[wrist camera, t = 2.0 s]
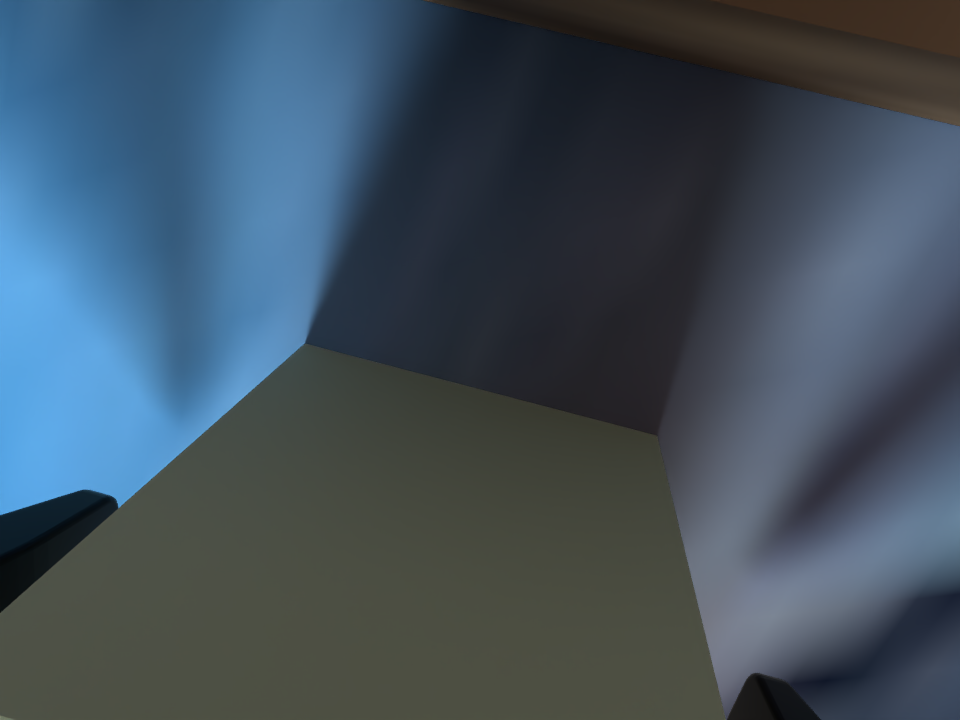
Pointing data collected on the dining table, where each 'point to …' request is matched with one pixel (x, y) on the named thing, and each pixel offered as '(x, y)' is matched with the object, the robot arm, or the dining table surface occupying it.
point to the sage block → (375, 569)
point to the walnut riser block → (780, 42)
